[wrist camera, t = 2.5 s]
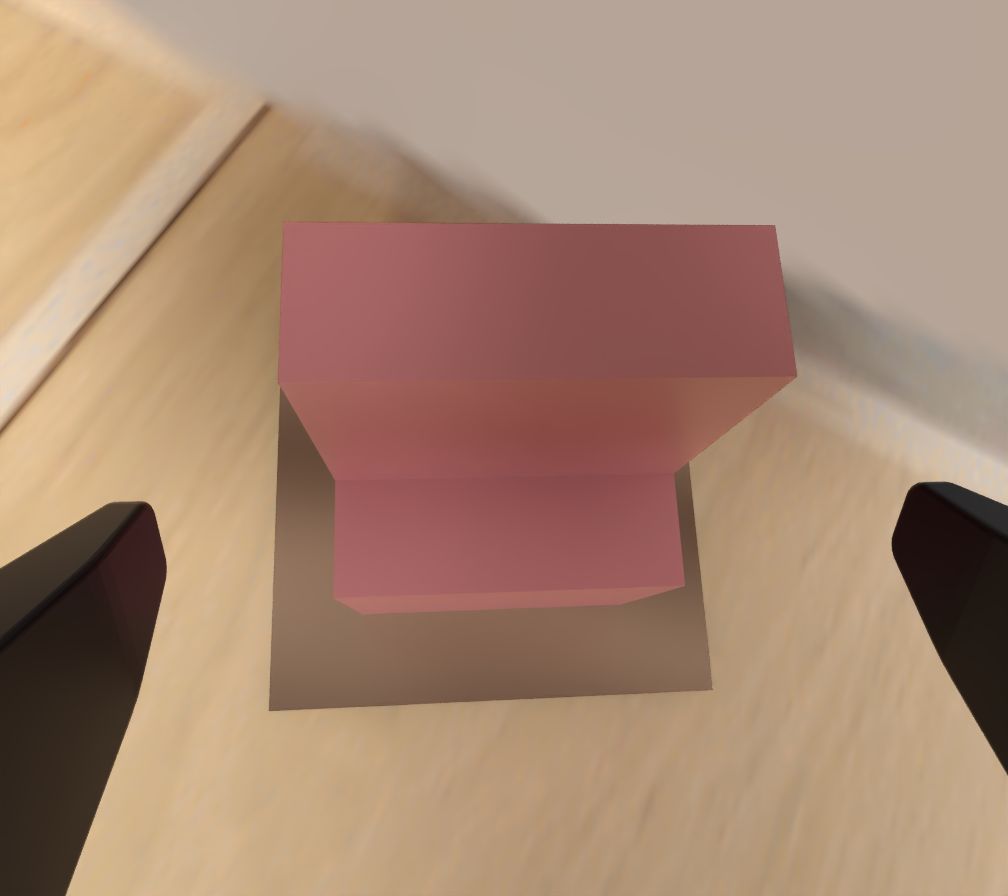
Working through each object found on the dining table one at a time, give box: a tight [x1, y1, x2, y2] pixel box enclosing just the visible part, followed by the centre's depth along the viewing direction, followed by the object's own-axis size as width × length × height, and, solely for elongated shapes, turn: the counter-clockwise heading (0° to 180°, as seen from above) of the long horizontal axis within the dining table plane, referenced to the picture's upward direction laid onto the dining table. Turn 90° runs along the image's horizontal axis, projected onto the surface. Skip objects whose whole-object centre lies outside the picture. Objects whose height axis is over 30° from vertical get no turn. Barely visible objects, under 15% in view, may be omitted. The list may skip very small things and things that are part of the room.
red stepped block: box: [278, 222, 797, 614], centre depth 14 cm, size 7×6×10 cm
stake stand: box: [269, 387, 712, 711], centre depth 17 cm, size 10×10×4 cm
